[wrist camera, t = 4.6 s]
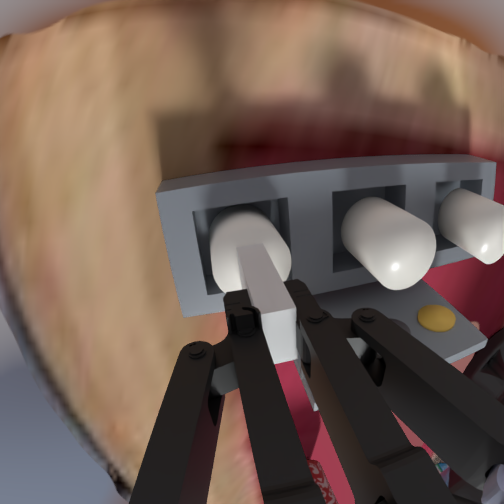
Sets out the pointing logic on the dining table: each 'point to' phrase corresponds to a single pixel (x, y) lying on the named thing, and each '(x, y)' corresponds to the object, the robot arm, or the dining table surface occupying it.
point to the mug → (322, 481)
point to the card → (407, 318)
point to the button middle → (388, 242)
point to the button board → (309, 214)
